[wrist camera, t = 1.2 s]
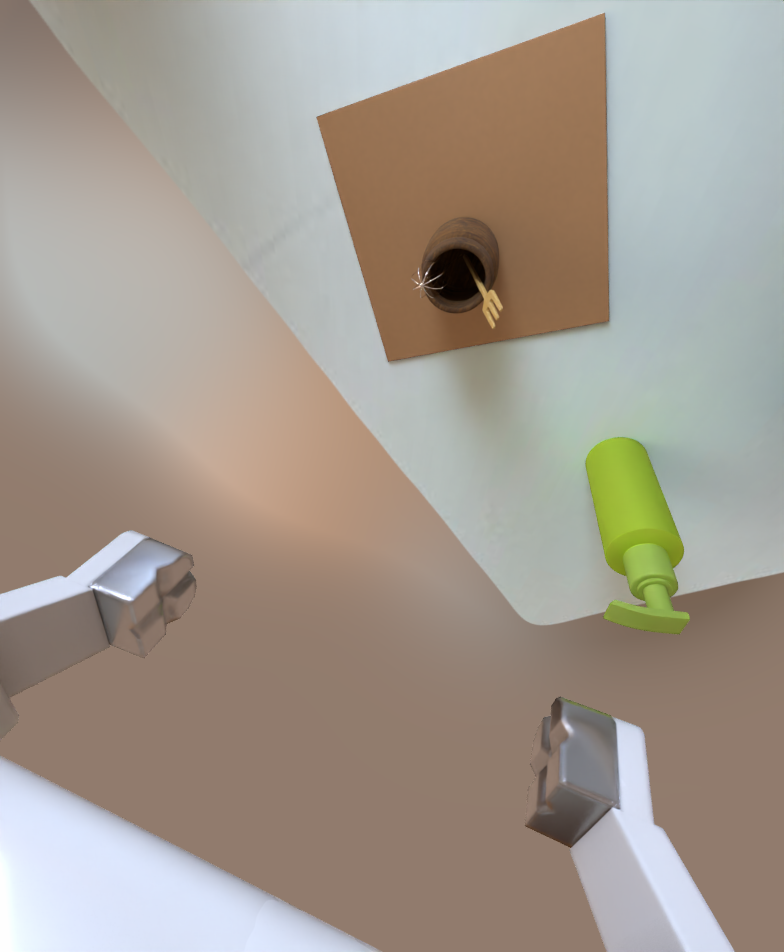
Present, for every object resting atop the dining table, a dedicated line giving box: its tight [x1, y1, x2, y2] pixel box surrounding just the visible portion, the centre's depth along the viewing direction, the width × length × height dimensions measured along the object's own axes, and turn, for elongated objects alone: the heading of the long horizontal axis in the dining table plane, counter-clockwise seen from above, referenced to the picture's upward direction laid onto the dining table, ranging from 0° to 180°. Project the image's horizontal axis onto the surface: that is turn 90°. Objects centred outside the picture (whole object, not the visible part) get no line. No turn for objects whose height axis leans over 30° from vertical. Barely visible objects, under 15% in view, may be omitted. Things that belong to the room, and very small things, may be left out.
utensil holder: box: [411, 217, 503, 329], centre depth 36 cm, size 6×6×12 cm
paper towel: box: [317, 13, 609, 361], centre depth 39 cm, size 20×20×1 cm
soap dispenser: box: [586, 437, 690, 634], centre depth 43 cm, size 6×7×20 cm
